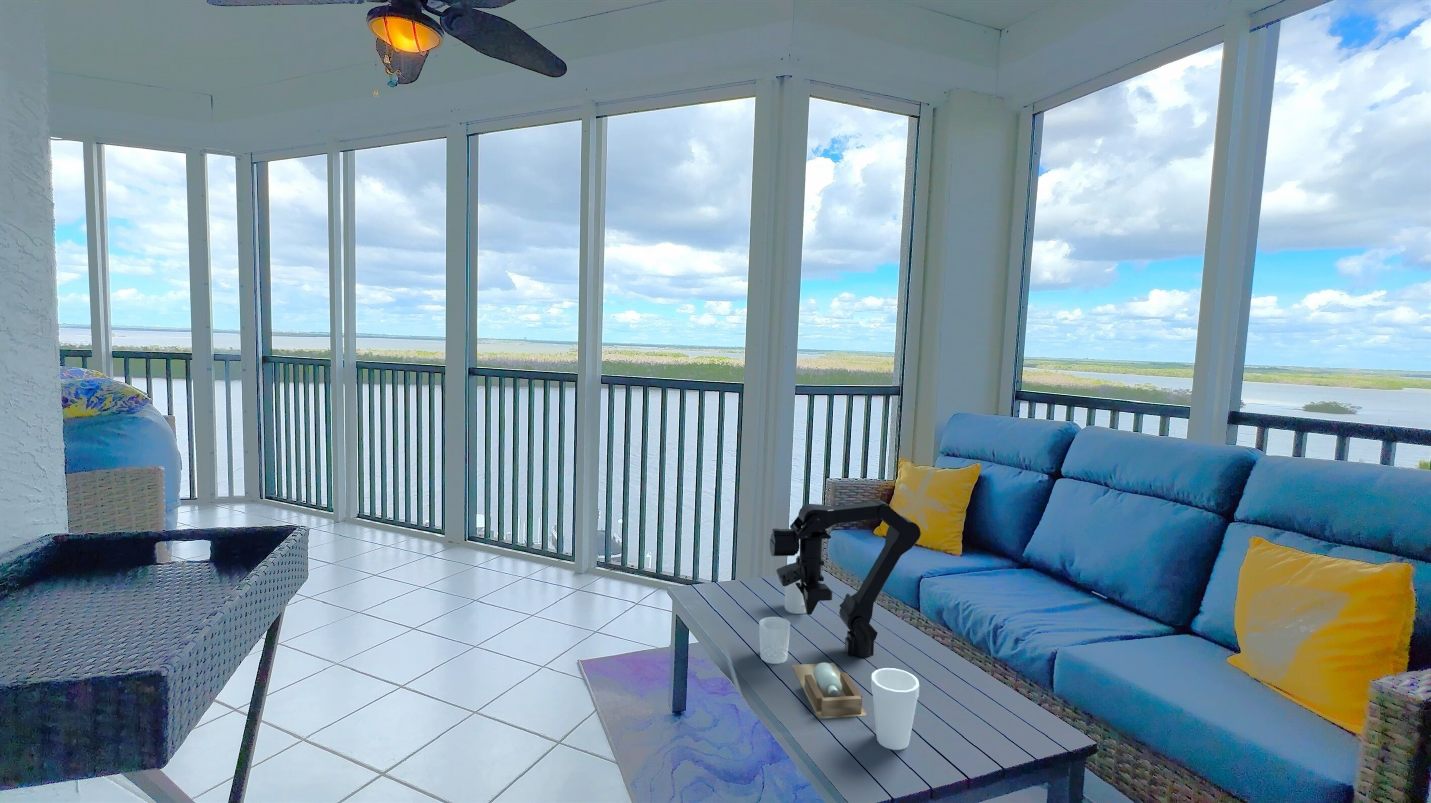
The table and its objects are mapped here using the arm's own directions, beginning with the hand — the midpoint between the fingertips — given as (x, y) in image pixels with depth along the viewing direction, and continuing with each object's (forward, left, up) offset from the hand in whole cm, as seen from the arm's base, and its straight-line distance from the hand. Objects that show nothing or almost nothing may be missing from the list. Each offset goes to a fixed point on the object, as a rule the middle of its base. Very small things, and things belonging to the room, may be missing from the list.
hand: (808, 614), depth 162 cm
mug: (-6, -29, -12) cm, 32 cm away
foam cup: (-8, +35, -12) cm, 38 cm away
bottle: (0, +14, -8) cm, 16 cm away
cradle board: (0, +16, -12) cm, 20 cm away
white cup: (+9, 0, -12) cm, 15 cm away
